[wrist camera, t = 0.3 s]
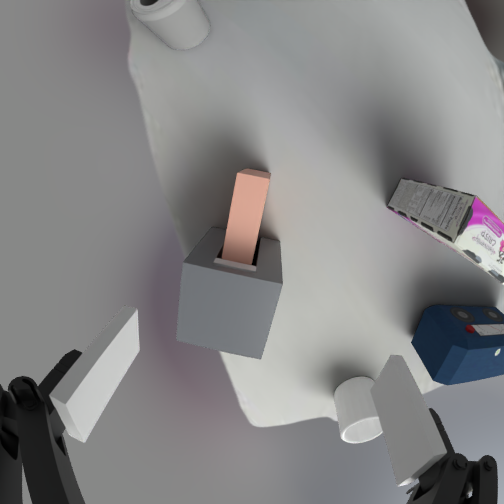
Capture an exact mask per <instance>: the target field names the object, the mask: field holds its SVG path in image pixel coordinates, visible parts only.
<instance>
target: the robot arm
mask: <svg viewBox="0 0 504 504" xmlns="http://www.w3.org/2000/svg"><path fill="white" fill-rule="evenodd" d="M138 352H139V333H138V309H136V308H132V307H129V306H126V305H124V306H123V307H122V308H121V309H120V310H119V312H118V313H117V314H116V315H115V316H114V317H113V318H112V320H111V321H110V322H109V323H108V324H107V325H106V326H105V328H104V329H103V330H102V331H101V332H100V333H99V335H98V336H97V337H96V338H95V339H94V340H93V341H92V343H91V344H90V345H89V346H88V348H87V349H86V350H85V351H84V352H83V353H82V352H80V351H77V350H75V349H74V350H72V351H71V352H69V353H67V354H65V356H63V357H62V359H61V360H60V361H59V363H57V364H56V366H55V367H54V369H52V370H51V371H50V373H49V374H48V375H47V376H46V377H45V379H44V380H43V381H42V382H41V383H40V385H39V386H37V384H36V383H35V381H34V380H33V379H31V378H29V377H25V376H21V377H17V378H15V379H13V380H12V381H11V383H10V384H9V386H8V391H9V392H7V391H4V390H3V388H2V386H1V384H0V504H23V503H22V463H23V467H24V473H25V477H26V482H27V485H28V490H29V493H30V497H31V500H32V504H85V502H84V500H83V497H82V495H81V492H80V489H79V487H78V484H77V481H76V478H75V475H74V472H73V469H72V466H71V462H70V459H69V456H68V452H67V448H66V445H65V441H64V437H63V435H62V433H63V432H64V430H65V429H66V430H67V432H68V433H69V435H70V436H72V437H74V438H76V439H78V440H80V441H82V442H84V443H85V441H86V440H87V438H88V436H89V434H90V432H91V431H92V429H93V427H94V425H95V424H96V422H97V420H98V418H99V417H100V415H101V413H102V411H103V410H104V408H105V406H106V405H107V403H108V401H109V400H110V398H111V396H112V395H113V393H114V391H115V389H116V388H117V386H118V384H119V383H120V381H121V380H122V378H123V376H124V375H125V373H126V371H127V370H128V368H129V366H130V365H131V363H132V362H133V360H134V358H135V357H136V355H137V354H138ZM370 392H371V395H372V398H373V401H374V405H375V408H376V411H377V414H378V417H379V421H380V424H381V427H382V431H383V434H384V438H385V441H386V445H387V448H388V452H389V455H390V459H391V463H392V467H393V471H394V475H395V479H396V483H397V486H402V485H407V484H411V483H412V482H413V481H414V480H416V479H417V478H418V479H419V483H418V484H416V485H415V486H414V487H412V488H411V489H409V490H408V491H407V494H408V493H410V492H411V491H413V492H412V494H411V496H410V498H409V500H408V502H407V504H497V497H498V479H497V478H498V476H497V463H496V461H495V459H494V458H493V457H492V456H489V455H485V456H483V457H482V458H481V459H480V460H479V461H468V460H467V459H466V457H465V456H463V455H462V454H459V453H455V452H454V449H453V447H452V445H451V443H450V440H449V438H448V435H447V433H446V431H444V426H443V425H442V422H441V420H440V418H439V416H438V414H437V413H436V412H435V411H434V410H433V409H432V408H429V409H428V407H427V405H426V402H425V401H424V398H423V396H422V394H421V392H420V390H419V388H418V386H417V384H416V382H415V380H414V378H413V376H412V374H411V372H410V370H409V368H408V366H407V364H406V362H405V360H404V358H403V357H402V356H399V355H390V357H389V359H388V361H387V363H386V364H385V366H384V368H383V370H382V371H381V373H380V375H379V376H378V378H377V380H376V381H375V383H374V385H373V386H372V388H371V390H370ZM471 491H472V496H471V497H470V498H469V496H468V495H469V493H470V492H471Z"/></svg>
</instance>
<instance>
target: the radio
mask: <svg viewBox="0 0 504 504" xmlns="http://www.w3.org/2000/svg"><path fill="white" fill-rule="evenodd" d="M411 343H412V345H413V347H414V348H415V350H416V352H417V353H418V355H419V357H420V358H421V360H422V362H423V364H424V365H425V367H426V369H427V371H428V373H429V374H430V376H431V378H432V380H433V381H436V382H438V383H441V384H445V385H452V384H459V383H465V382H470V381H476V380H480V379H485V378H490V377H494V376H499V375H503V374H504V314H503V313H502V312H500V311H499V310H498V309H497V308H496V307H473V306H451V305H434V306H431V307H429V308H427V309H425V311H424V313H423V316H422V318H421V321H420V323H419V326H418V328H417V330H416V333H415V335H414V337H413V339H412V342H411Z"/></svg>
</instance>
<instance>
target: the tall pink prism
mask: <svg viewBox="0 0 504 504" xmlns="http://www.w3.org/2000/svg"><path fill="white" fill-rule="evenodd" d="M270 176H271V173H268V172H263V171H258V170H253V169H248V168H246V169H244V170H242V171H240V172H237V177H236V182H235V187H234V192H233V197H232V203H231V208H230V214H229V219H228V225H227V230H226V236H225V242H224V247H223V253H222V259H224V260H229V261H234V262H238V263H243V264H248V265H252V260H253V256H254V251H255V247H256V242H257V237H258V233H259V228H260V223H261V219H262V214H263V209H264V205H265V200H266V195H267V191H268V186H269V181H270Z"/></svg>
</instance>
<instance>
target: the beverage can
mask: <svg viewBox="0 0 504 504" xmlns="http://www.w3.org/2000/svg"><path fill="white" fill-rule="evenodd" d="M130 6H131V8H132V12H133V14H134V16H135V17H136V18H137V19H139V20H140V21H141V22H142V23H143V24H144V25H146V26H147V27H148V28H149V29H150V30H151V31H152V32H153V33H155V34H156V35H157V36H158V37H159V38H160V39H161V40H162V41H163V42H164V43H166V44H167V45H168V46H169V47H171V48H173V49H176V50H186V49H190V48H193V47H195V46H197V45H199V44H200V43H201V42H203V41H204V40H205V38H206V37H207V35H208V34H209V31H210V22H209V20H208V18H207V16H206V14H205V12H204V11H203V9H202V7H201V5H200V3H199V2H198V0H130Z"/></svg>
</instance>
